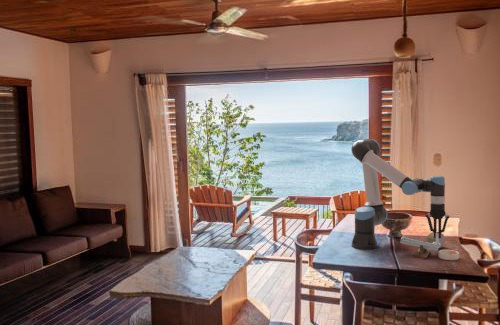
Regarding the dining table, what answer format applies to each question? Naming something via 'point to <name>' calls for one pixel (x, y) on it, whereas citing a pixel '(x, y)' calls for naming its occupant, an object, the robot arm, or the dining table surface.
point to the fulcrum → (422, 252)
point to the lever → (420, 243)
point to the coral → (431, 239)
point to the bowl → (448, 255)
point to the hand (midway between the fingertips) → (437, 243)
